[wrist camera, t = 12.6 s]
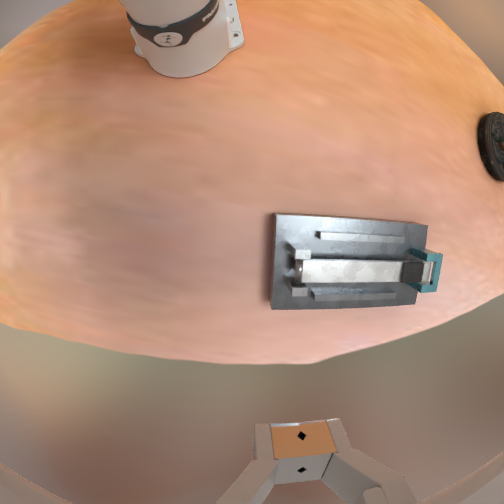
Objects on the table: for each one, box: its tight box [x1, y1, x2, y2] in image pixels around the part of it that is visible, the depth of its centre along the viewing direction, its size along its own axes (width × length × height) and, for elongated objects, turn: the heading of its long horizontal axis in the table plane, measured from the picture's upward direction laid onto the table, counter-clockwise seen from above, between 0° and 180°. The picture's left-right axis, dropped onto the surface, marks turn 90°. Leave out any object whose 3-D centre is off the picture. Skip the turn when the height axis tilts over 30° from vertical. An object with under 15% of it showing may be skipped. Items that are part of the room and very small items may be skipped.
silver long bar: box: [294, 259, 431, 283], centre depth 36 cm, size 3×23×2 cm, turn 88°
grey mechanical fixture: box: [269, 213, 443, 310], centre depth 39 cm, size 14×27×8 cm, turn 88°
